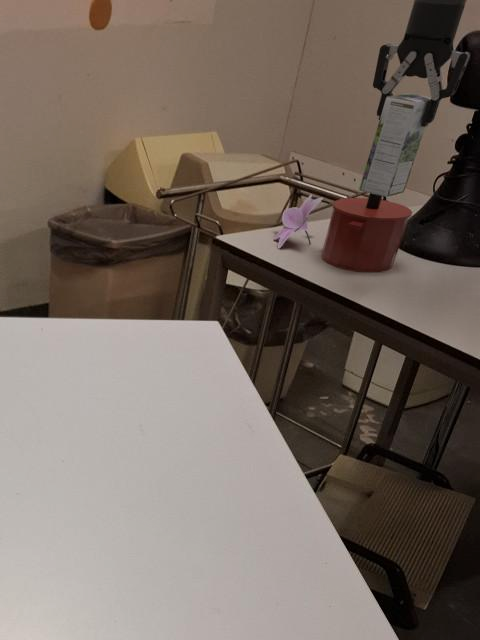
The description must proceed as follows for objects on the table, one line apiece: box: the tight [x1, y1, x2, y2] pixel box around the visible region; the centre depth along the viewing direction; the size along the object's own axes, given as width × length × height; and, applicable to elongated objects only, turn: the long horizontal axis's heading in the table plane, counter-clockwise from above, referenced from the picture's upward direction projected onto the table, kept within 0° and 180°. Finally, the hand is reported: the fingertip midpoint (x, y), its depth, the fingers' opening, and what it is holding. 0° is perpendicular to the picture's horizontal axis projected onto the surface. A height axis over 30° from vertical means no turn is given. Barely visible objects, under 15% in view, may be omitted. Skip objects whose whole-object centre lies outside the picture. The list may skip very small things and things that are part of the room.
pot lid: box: [332, 193, 413, 221], centre depth 162 cm, size 15×15×6 cm
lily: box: [272, 193, 324, 250], centre depth 175 cm, size 12×12×10 cm
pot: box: [321, 208, 409, 273], centre depth 167 cm, size 14×19×10 cm
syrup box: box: [358, 93, 431, 198], centre depth 143 cm, size 6×6×14 cm
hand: (403, 122), depth 141 cm, fingers closed on syrup box, 6 cm apart
